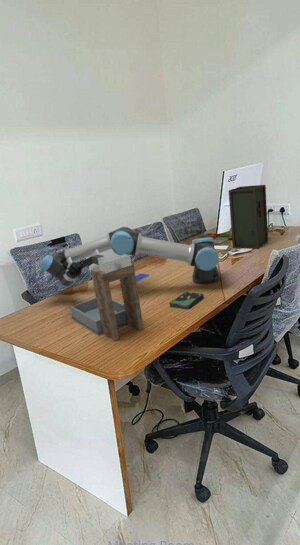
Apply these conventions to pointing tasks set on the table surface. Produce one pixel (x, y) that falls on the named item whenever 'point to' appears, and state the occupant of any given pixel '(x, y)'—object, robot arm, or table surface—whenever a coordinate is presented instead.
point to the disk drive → (186, 300)
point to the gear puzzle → (216, 236)
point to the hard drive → (141, 277)
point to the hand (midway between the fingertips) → (84, 255)
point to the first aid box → (248, 216)
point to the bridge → (106, 303)
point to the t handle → (111, 262)
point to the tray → (96, 314)
